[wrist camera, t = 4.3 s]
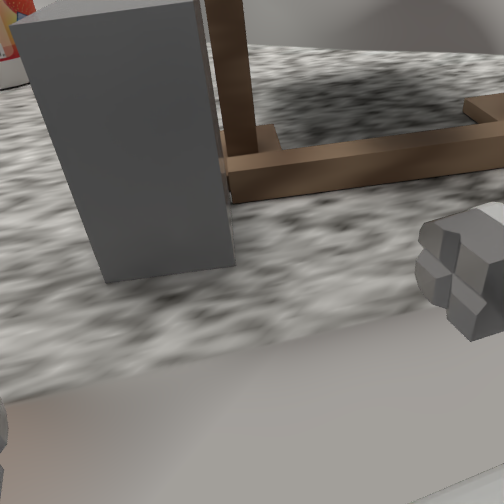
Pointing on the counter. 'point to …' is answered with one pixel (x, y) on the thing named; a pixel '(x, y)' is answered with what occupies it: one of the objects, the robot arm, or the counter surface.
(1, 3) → the fruit juice
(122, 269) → the basalt block
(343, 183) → the post frame
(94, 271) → the counter surface
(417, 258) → the robot arm
